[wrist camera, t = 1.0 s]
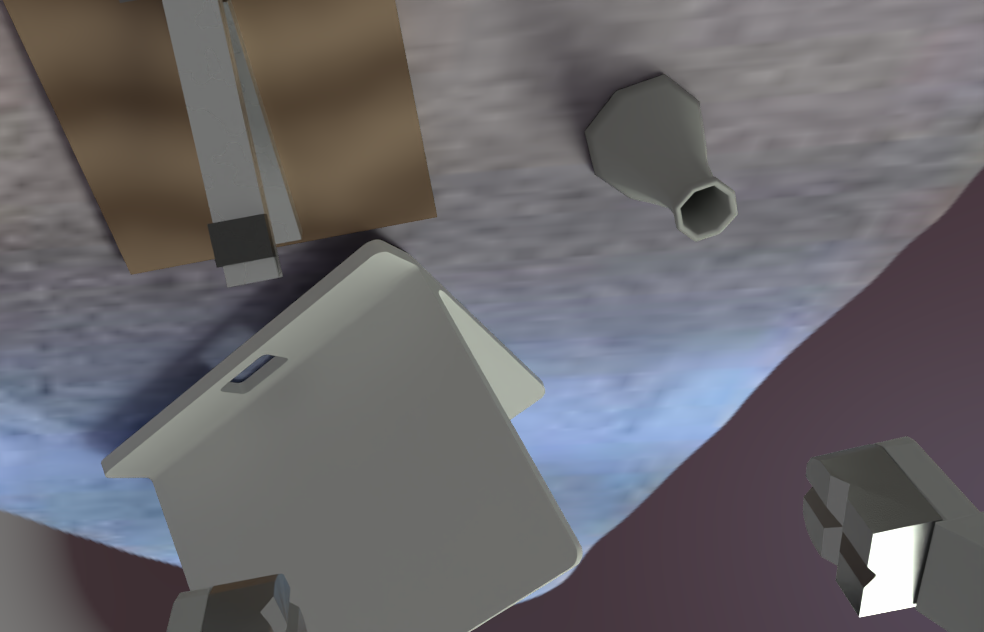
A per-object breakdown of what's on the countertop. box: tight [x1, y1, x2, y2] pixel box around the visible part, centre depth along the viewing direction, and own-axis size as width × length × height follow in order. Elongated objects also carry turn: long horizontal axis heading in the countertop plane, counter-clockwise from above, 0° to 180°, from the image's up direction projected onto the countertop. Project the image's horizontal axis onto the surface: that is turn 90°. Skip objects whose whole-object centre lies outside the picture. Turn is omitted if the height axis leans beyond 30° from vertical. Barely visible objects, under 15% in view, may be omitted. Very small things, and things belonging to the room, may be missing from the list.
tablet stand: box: [101, 240, 582, 632], centre depth 48 cm, size 18×25×17 cm
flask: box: [585, 74, 738, 242], centre depth 43 cm, size 7×7×10 cm
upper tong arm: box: [162, 0, 283, 287], centre depth 36 cm, size 16×4×2 cm, turn 7°
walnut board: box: [3, 0, 437, 275], centre depth 41 cm, size 18×18×1 cm
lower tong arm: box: [119, 0, 303, 244], centre depth 39 cm, size 16×6×3 cm, turn 8°
